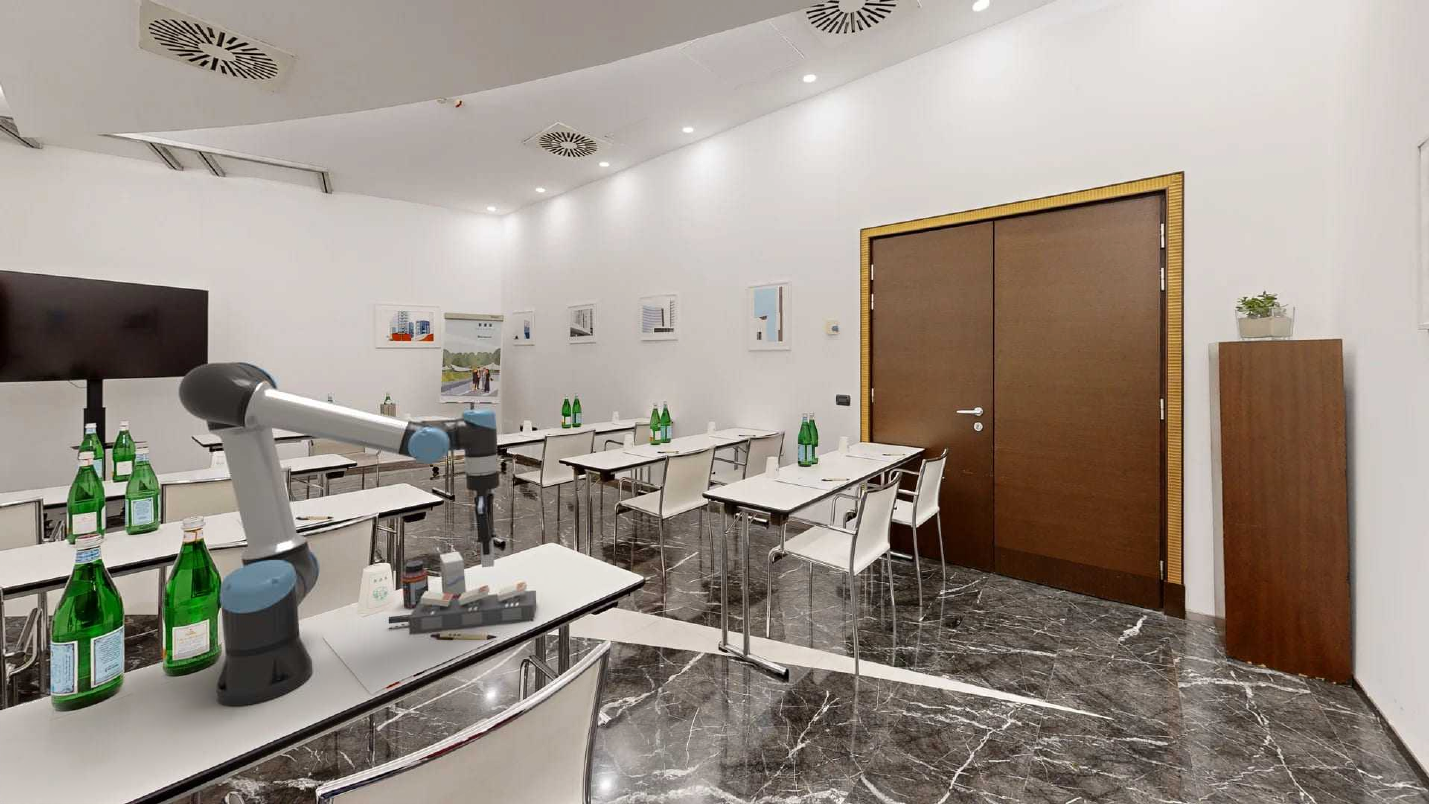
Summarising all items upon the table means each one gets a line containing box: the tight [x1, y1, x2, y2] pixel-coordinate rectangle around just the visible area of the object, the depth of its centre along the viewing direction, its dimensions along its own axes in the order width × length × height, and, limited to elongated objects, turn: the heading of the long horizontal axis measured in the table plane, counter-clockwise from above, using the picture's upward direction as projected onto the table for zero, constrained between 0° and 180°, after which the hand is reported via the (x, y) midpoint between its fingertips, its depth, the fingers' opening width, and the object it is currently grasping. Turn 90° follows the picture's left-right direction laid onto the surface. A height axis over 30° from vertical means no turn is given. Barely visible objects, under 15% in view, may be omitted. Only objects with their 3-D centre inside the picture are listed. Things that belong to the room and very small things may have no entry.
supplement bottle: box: [401, 560, 429, 610], centre depth 150 cm, size 6×6×11 cm
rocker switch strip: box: [388, 590, 537, 635], centre depth 141 cm, size 34×9×5 cm, turn 103°
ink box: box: [439, 551, 467, 599], centre depth 153 cm, size 9×5×12 cm, turn 34°
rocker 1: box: [420, 590, 453, 607], centre depth 139 cm, size 6×4×2 cm, turn 104°
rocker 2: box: [459, 584, 490, 605], centre depth 141 cm, size 6×4×2 cm, turn 102°
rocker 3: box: [497, 581, 528, 601], centre depth 143 cm, size 6×4×2 cm, turn 102°
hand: (488, 565), depth 142 cm, fingers closed
